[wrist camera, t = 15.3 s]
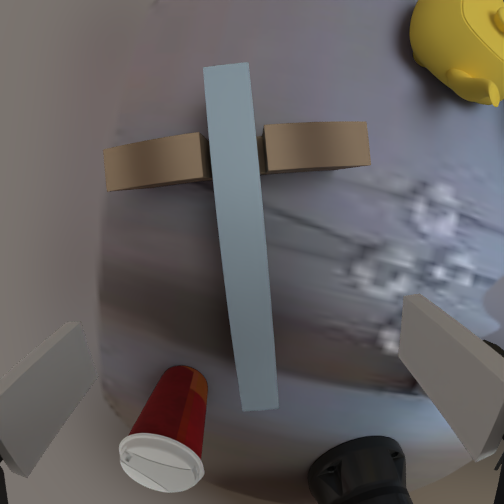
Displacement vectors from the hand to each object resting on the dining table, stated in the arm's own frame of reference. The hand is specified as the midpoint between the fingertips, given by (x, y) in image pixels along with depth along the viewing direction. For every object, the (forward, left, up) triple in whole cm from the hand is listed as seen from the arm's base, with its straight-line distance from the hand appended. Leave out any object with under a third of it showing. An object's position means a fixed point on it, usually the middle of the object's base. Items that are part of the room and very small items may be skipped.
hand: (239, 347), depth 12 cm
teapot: (+20, -25, -20) cm, 38 cm away
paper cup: (-16, +9, -20) cm, 27 cm away
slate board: (+1, 0, -20) cm, 20 cm away
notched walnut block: (+8, 0, -20) cm, 21 cm away
